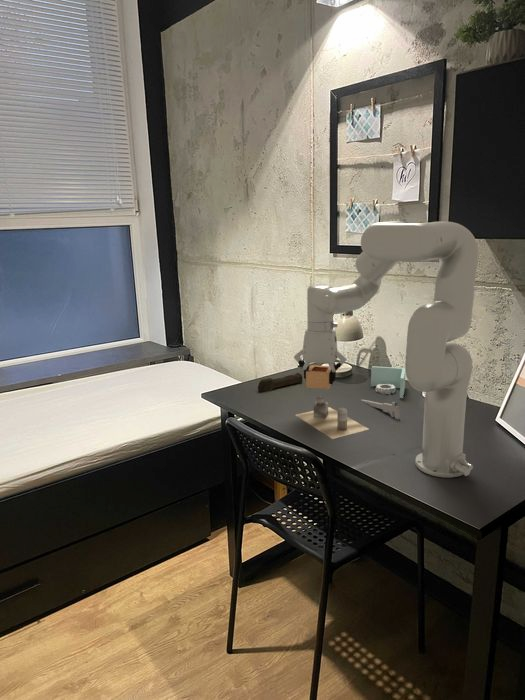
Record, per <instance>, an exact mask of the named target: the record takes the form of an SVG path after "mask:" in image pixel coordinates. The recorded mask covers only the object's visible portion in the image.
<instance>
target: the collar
mask: <svg viewBox="0 0 525 700" xmlns="http://www.w3.org/2000/svg"><path fill="white" fill-rule="evenodd" d="M330 372H331V368H330V366H329V365H313V364H311V365H309V369H308V370H307V371H306V379H305V387H306V388H308V389H309V388H311V389H320V390H330V388H331V386H332V385H333V384H330Z"/></svg>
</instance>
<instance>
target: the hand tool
mask: <svg viewBox="0 0 525 700" xmlns="http://www.w3.org/2000/svg"><path fill="white" fill-rule="evenodd" d="M298 383H299V384H302V383H303V375H302V374H301V373H300V372H296V373H294V374H290V375H285V376H282V377H278V378H277V377H276V378H272V377H268V378H263V379H260V381H259V383H258V386H257V391H258V392H259V393H263V392H270V391H273V390H274V389H277V388H282V387H285V386H290V385H296V384H298Z"/></svg>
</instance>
